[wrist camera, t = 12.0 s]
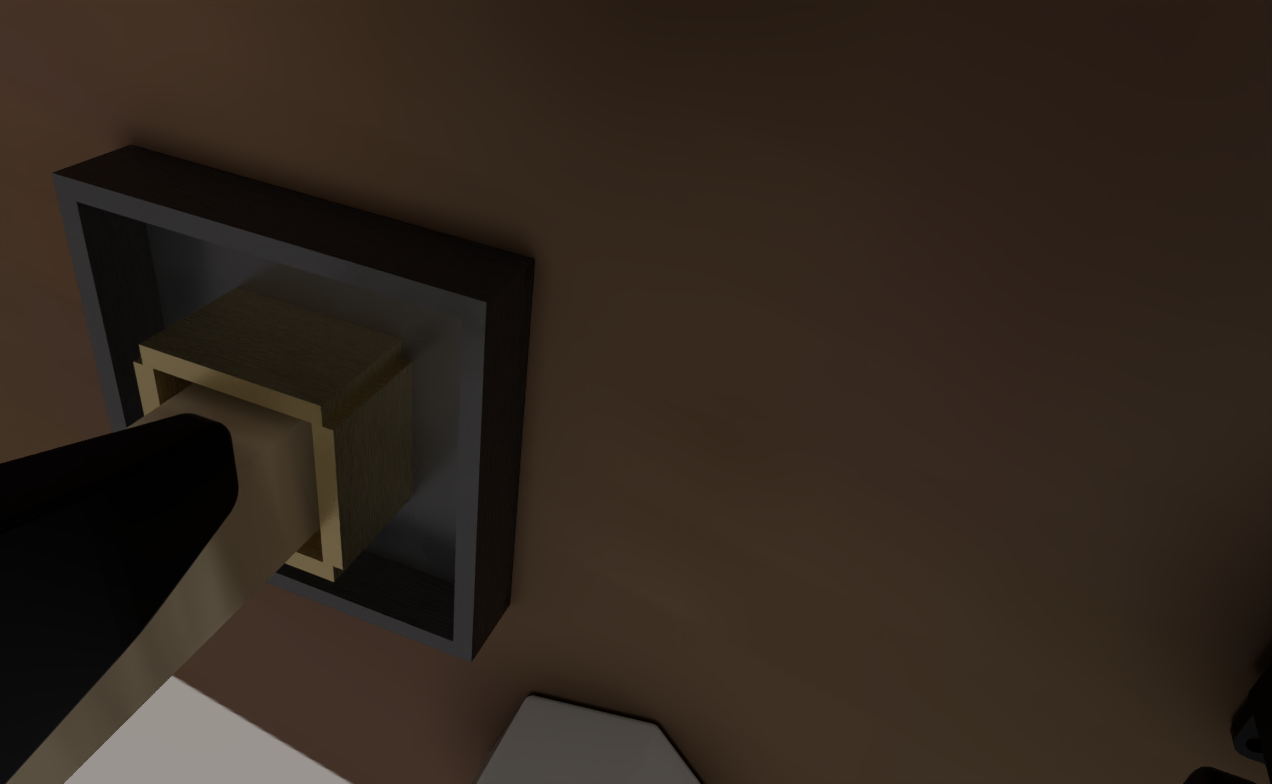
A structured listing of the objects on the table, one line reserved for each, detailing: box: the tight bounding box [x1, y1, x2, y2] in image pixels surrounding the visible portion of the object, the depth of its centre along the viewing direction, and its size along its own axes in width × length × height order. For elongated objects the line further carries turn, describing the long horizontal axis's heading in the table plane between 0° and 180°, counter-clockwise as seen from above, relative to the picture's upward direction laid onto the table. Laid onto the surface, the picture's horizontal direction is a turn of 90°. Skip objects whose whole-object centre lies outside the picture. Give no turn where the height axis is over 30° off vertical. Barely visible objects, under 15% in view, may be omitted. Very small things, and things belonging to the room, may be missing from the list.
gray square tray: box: [52, 145, 534, 662], centre depth 26 cm, size 12×12×4 cm
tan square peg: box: [6, 383, 320, 784], centre depth 22 cm, size 4×4×13 cm
